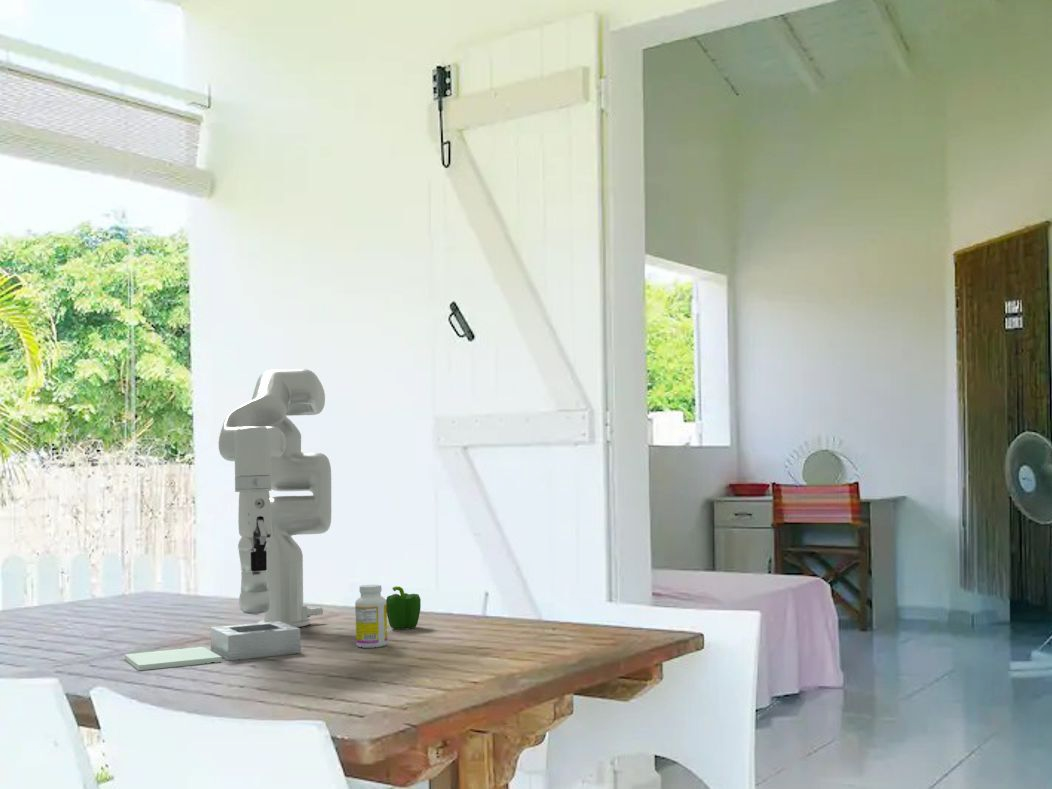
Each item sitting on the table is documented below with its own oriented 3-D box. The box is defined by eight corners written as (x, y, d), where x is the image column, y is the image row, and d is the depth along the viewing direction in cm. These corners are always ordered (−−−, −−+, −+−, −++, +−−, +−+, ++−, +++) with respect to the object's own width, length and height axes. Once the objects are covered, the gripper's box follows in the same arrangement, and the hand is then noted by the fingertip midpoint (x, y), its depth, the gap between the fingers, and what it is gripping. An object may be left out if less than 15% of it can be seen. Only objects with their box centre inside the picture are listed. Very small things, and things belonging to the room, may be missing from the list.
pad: (203, 651, 244) (203, 646, 244) (221, 661, 230) (221, 656, 230) (124, 659, 236) (124, 654, 236) (138, 670, 222) (138, 665, 222)
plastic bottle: (276, 612, 244) (275, 518, 245) (259, 617, 238) (257, 520, 239) (250, 612, 246) (249, 518, 247) (232, 616, 240) (231, 520, 241)
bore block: (279, 644, 251) (279, 621, 252) (300, 653, 238) (300, 628, 239) (210, 651, 244) (210, 627, 244) (228, 660, 231) (228, 635, 231)
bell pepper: (416, 624, 277) (415, 583, 277) (424, 629, 269) (423, 586, 269) (382, 627, 274) (381, 585, 274) (389, 631, 266) (388, 588, 267)
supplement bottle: (374, 642, 250) (373, 583, 251) (393, 645, 245) (392, 585, 246) (349, 646, 245) (348, 586, 246) (368, 649, 241) (367, 587, 241)
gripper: (282, 484, 238) (283, 571, 237) (259, 483, 253) (260, 565, 252) (246, 485, 234) (247, 574, 233) (225, 484, 249) (226, 568, 248)
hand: (254, 568), depth 242 cm, fingers closed on plastic bottle, 6 cm apart
